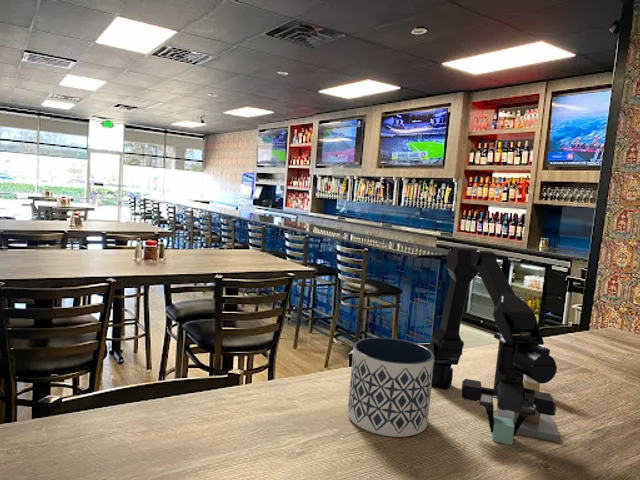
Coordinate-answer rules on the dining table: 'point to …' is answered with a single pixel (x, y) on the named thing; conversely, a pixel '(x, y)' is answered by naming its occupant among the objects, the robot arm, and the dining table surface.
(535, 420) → the walnut block
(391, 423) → the planter
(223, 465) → the dining table surface
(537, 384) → the sprinkles bottle
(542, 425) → the slate board
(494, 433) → the teal block
